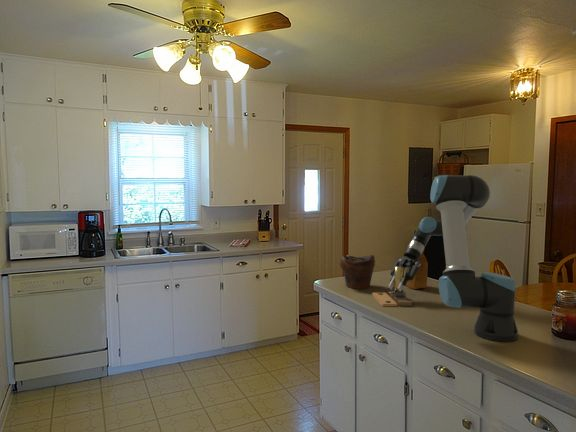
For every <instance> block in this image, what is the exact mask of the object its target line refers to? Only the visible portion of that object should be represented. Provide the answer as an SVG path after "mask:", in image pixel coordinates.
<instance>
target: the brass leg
mask: <svg viewBox="0 0 576 432" xmlns="http://www.w3.org/2000/svg"><path fill="white" fill-rule="evenodd" d="M404 276H405V269H404V267H402V266H400V265H399V266H395V280H394V290H391V291H392V292H389V294H393V295H394V296H395V297H407V295H406V294H407V293H406V291H405V290H404V287H405V286H403V288H402V290H401V292H399V290H398V289H397V288H398V286H399V284H400V282H401V280H402V278H405V277H404Z"/></svg>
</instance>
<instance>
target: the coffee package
mask: <svg viewBox="0 0 576 432" xmlns="http://www.w3.org/2000/svg"><path fill="white" fill-rule="evenodd" d="M417 262H420V264H421V267H420V268H419V269H418V271H417V273H416V274H415V276H414V278H413V280H412V281H411V280H409V281H408V282H407V283H406V285H405V286H407V288H409V289H413V290H417V289H426V288H428V287H427V286H428V266H429V265H428V264H429V263H428V261H427V258H426V256H425V249H424V250H423V252H422V254H421V256H420V258H419V260H418V261H417ZM414 266H415V265H414ZM414 266H413V267H414ZM412 269H413V268H412ZM406 270H407V267H406V268H405V269H404V275H405V274H406ZM411 271H412V270H411Z"/></svg>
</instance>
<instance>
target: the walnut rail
mask: <svg viewBox="0 0 576 432" xmlns="http://www.w3.org/2000/svg"><path fill="white" fill-rule="evenodd" d="M385 290H387V294H388V295H389V296H390V297H391V298H392V299H393V300H394V301H395V302H396V303H397V307H412V306H413V301H412V300H411V299H409V298H408V297H407V296H406V297H395V296H394V295H393V294H389V292H392V290H394V286H393V288H392V290H391V289H390V288H389V287H385Z"/></svg>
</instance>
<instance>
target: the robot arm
mask: <svg viewBox="0 0 576 432" xmlns="http://www.w3.org/2000/svg"><path fill="white" fill-rule="evenodd" d="M429 195H430V197H429V198H430V201H431V204H435V209H436V210H437V211H439V212H440V216H441V220H436V219H435V218H434V217H431V216H425V217H423V218H422V219H421V220H420V222H419V224H418V226H417V229H416V230H415V232H414V235H413V237H412V239H411V240H410V242H409V243H408V245H407V248H406V250H405V251H404V254H403V256H402V257H401V258H396V259H395V262H394V264H393V266H392V269H391V271H390V272H389V274H390V276H391V278H390V279H389V280H390V283H389V284H388V287H387V288H390V289H389V290H390V291H392V288H393V286H394V280H395V266H402V267H404V270H405V269H406V267H407V270H406V274H405V273H404V278H402V280H401V282H400V284H399V286H398V288H397V289H398V290H399V292H401V290H402V288H403V286H404V287H405V286H406V283H407V282H408V281H409V280H411V281H412V280H413V278H414V276H415V274H416V273H417V271H418V269H419V268H420V267H421V264H420V262H417V261H418V260H419V258H420V256H421V254H422V252H423V250H424V251H425V248H426V246H427V244H428V242H429V240H430V238H431V237H433V236H437V237H438V236H442V239H443V249H444V257H445V269H444V270H443V271H442V276H440V277H439V279H438V291H439V292H438V293H439V295H440V299H441V300H442V303H444V305H445V306H447V307H450V308H457V309H460V308H472V309H474V308H476V309H479V314H478V316H477V319H476V321H475V323H474V326H473V332H474V333H475V335H477V336H478V337H480V338H482V339H486V340H490V341H494V342H507V343H509V342H514V341H517V340H518V338H519V331H518V327H517V324H516V320H515V316H514V315H515V302H516V300H515V299H516V292H517V290H516V281H515V279H513V278H512V277H510V276H507V275H504V274H500V273H495V272H488V271H485V272H484V271H483V272H481V274H480V276H476V271H475V269H473V268H472V267H471V264H470V257H469V250H468V249H469V248H468V239H467V233H466V232H467V224H468V222H469V220H471V218H472V217H473V216H474V215H475V214H476V212H477V211H478V210H479V209H481V208H483V207H484V206H485V205H486V204H487V203H488V201H489V200H490V197H491V196H490V195H491V191H490V186H489V185H488V184H487V182H486V181H485V180H484V179H482V177H480V176H477V175H469V174H467V175H461V174H459V175H457V174H454V175H452V174H451V175H449V174H445V175H444V174H442V175H437V176H435V177H434V179H433V181H432V184H431V188H430V194H429ZM423 253H424V252H423ZM414 265H415V266H414ZM413 266H414V267H413ZM412 268H413V269H412ZM411 270H412V271H411Z"/></svg>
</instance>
